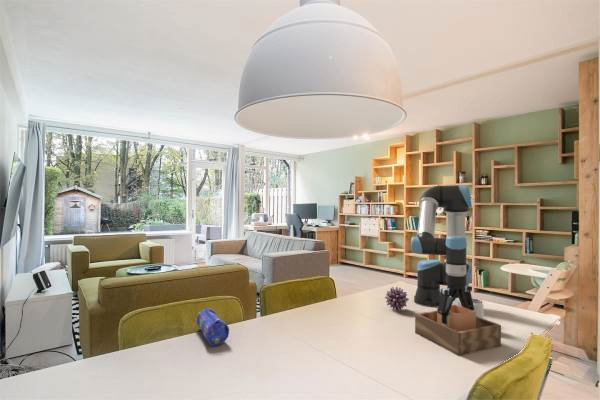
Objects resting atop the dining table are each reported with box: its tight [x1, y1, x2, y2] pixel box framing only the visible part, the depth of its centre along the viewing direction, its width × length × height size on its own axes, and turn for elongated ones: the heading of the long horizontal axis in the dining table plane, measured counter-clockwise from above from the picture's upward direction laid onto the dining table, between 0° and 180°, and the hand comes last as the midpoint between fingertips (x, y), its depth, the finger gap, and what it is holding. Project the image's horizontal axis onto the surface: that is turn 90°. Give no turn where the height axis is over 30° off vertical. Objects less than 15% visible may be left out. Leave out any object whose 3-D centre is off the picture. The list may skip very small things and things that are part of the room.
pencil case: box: [195, 308, 230, 347], centre depth 131 cm, size 22×9×10 cm, turn 29°
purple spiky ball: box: [384, 286, 410, 311], centre depth 166 cm, size 12×12×12 cm
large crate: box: [414, 310, 502, 357], centre depth 130 cm, size 22×22×8 cm
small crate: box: [436, 304, 476, 332], centre depth 130 cm, size 10×10×9 cm
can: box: [472, 298, 485, 319], centre depth 142 cm, size 6×6×12 cm
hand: (456, 329), depth 130 cm, fingers closed on small crate, 10 cm apart
